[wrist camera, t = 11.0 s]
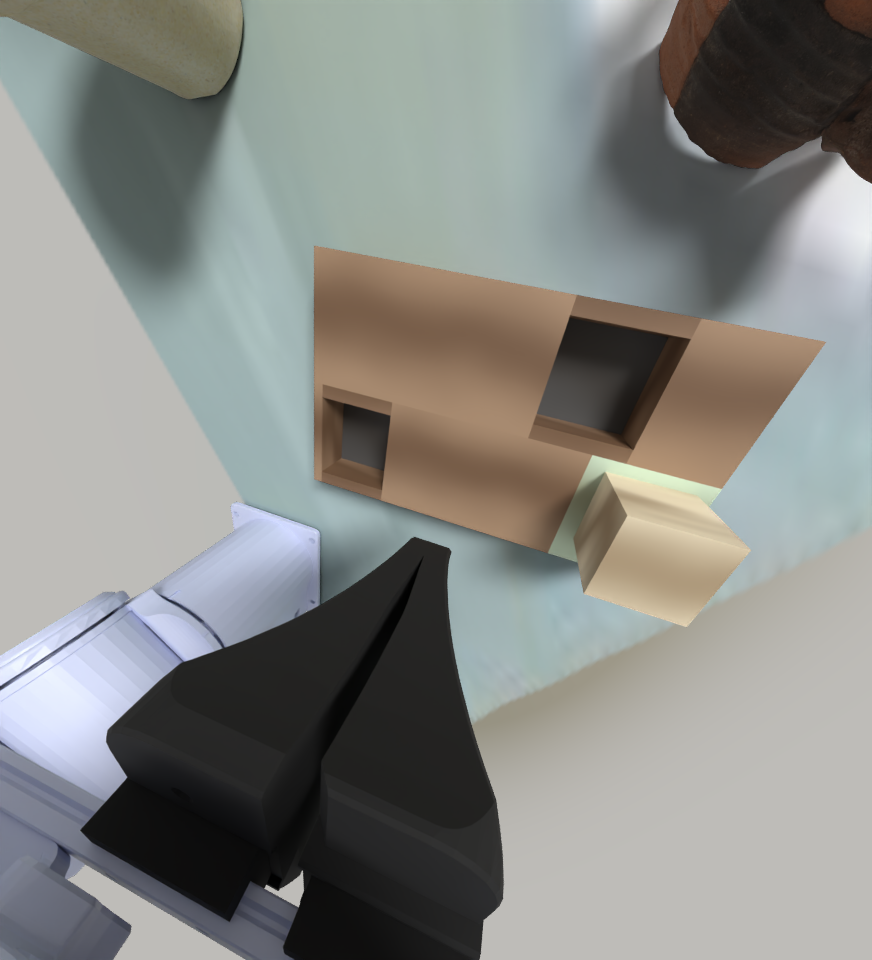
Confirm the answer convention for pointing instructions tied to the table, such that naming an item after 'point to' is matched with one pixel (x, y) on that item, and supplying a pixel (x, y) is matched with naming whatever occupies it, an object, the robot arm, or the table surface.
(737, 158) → the pottery mug
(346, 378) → the board
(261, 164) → the table surface
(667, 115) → the table surface
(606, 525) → the birch block
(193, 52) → the flower pot
